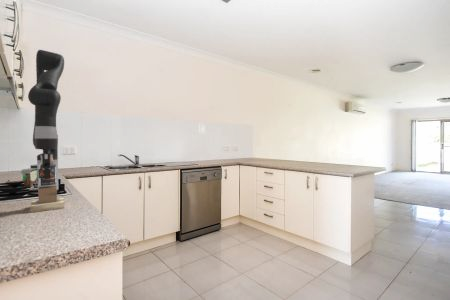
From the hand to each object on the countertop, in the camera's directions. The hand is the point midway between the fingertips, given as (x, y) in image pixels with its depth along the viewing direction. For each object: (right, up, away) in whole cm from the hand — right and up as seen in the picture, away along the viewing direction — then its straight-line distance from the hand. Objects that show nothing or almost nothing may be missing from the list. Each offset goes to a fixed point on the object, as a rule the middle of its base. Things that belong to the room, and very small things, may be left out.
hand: (47, 177), depth 100 cm
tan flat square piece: (0, -13, 0) cm, 13 cm away
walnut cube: (0, -10, 0) cm, 10 cm away
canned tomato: (-56, -10, +66) cm, 87 cm away
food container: (-49, -11, +50) cm, 71 cm away
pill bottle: (0, -3, 0) cm, 3 cm away
